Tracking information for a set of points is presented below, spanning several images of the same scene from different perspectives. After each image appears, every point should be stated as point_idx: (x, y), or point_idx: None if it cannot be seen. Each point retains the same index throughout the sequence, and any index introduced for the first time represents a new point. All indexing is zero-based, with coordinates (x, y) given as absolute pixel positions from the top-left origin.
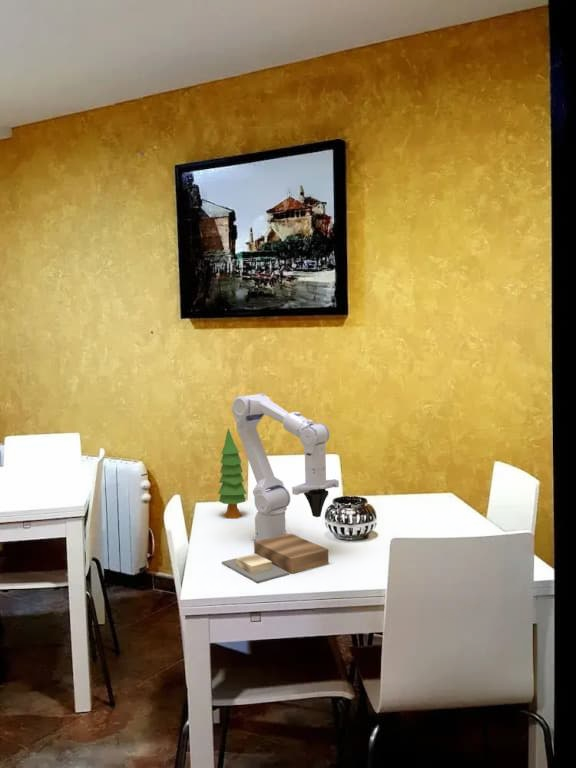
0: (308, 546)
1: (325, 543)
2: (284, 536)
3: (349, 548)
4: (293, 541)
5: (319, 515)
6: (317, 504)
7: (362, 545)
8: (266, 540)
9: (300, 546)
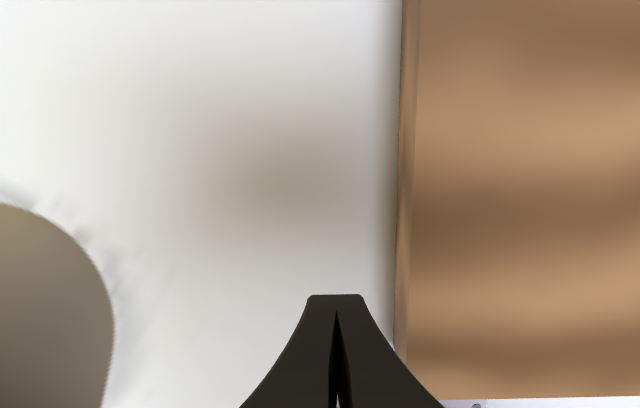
0: (497, 113)
1: (196, 284)
2: (471, 372)
3: (114, 133)
4: (498, 266)
5: (328, 299)
6: (386, 382)
7: (8, 130)
8: (608, 371)
9: (540, 150)
